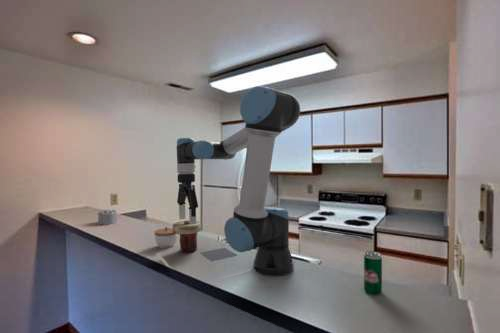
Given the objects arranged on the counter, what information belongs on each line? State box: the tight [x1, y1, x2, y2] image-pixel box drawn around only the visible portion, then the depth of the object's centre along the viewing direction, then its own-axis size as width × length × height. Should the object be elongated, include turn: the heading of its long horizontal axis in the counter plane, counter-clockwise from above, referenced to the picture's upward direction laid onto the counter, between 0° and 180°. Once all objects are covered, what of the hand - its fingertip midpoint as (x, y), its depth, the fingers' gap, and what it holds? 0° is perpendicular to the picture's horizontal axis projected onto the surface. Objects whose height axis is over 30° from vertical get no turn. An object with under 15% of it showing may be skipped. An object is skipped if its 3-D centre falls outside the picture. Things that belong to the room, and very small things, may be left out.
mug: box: [179, 232, 199, 254], centre depth 119 cm, size 12×9×10 cm
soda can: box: [363, 250, 383, 296], centre depth 83 cm, size 5×5×12 cm
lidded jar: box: [154, 226, 179, 249], centre depth 129 cm, size 11×11×9 cm
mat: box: [200, 247, 238, 262], centre depth 115 cm, size 12×12×1 cm
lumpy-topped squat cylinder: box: [97, 209, 118, 226], centre depth 180 cm, size 10×13×9 cm
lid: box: [172, 220, 202, 235], centre depth 119 cm, size 12×12×4 cm
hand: (187, 221), depth 119 cm, fingers open, 13 cm apart
